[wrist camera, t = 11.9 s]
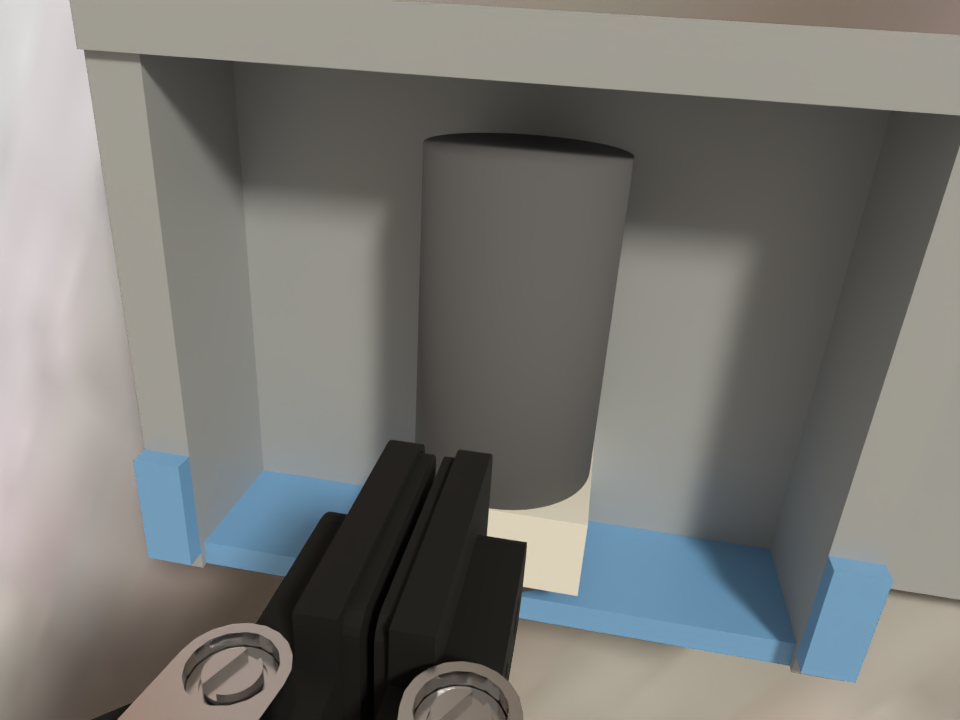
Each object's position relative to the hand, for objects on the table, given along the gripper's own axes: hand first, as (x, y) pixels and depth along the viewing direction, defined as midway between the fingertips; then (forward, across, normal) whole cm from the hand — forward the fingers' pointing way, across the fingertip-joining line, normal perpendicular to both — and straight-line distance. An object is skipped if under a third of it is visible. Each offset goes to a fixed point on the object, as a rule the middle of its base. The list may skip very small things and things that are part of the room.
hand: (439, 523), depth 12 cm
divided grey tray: (+9, -8, -1) cm, 13 cm away
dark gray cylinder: (+6, 0, 0) cm, 6 cm away
